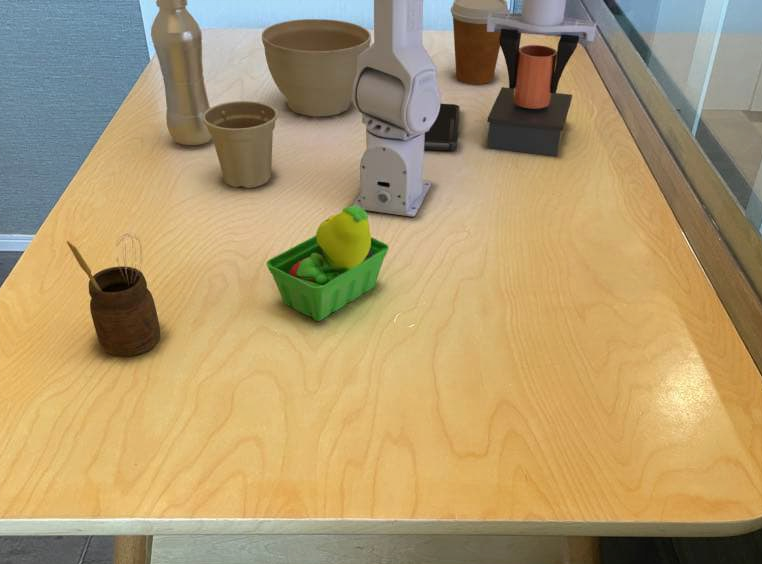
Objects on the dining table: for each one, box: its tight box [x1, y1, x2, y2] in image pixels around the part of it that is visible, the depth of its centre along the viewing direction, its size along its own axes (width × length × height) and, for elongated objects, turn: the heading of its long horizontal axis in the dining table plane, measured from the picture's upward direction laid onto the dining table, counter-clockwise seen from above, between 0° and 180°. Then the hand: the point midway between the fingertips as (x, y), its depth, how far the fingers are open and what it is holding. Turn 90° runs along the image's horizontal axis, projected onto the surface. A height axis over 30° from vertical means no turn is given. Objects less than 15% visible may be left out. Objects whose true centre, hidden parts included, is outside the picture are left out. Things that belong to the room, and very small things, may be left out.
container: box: [486, 86, 573, 157], centre depth 119 cm, size 13×11×4 cm
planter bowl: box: [261, 18, 372, 117], centre depth 124 cm, size 16×16×11 cm
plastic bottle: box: [150, 0, 213, 146], centre depth 110 cm, size 6×7×20 cm
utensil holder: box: [66, 233, 161, 357], centre depth 76 cm, size 6×6×12 cm
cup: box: [513, 44, 557, 109], centre depth 115 cm, size 5×5×7 cm
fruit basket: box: [266, 205, 390, 322], centre depth 83 cm, size 11×9×11 cm
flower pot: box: [202, 100, 279, 189], centre depth 105 cm, size 9×9×9 cm
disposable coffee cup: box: [450, 0, 510, 85], centre depth 135 cm, size 10×10×12 cm
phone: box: [424, 103, 461, 152], centre depth 121 cm, size 8×1×15 cm
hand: (533, 88), depth 116 cm, fingers closed on cup, 5 cm apart
